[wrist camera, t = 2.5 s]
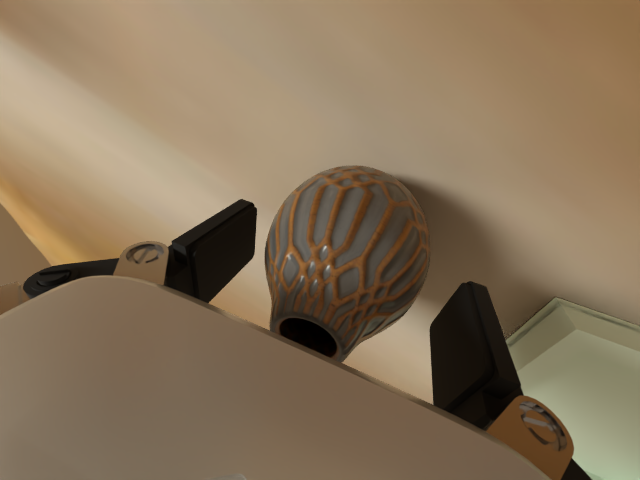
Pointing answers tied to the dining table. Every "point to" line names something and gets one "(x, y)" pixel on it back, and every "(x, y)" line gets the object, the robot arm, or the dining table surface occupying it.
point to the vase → (345, 259)
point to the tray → (585, 382)
